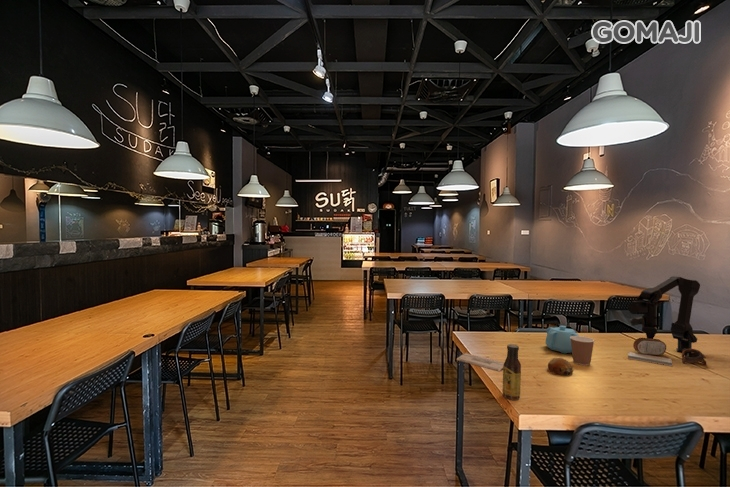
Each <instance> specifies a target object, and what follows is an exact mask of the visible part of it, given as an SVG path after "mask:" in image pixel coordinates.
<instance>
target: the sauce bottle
mask: <svg viewBox="0 0 730 487" xmlns="http://www.w3.org/2000/svg"><path fill="white" fill-rule="evenodd" d="M506 349H507V350H506V351H507V353H506V357H505V360H504V362H503V363H504V365H503V368H502V395H503V397H504V398H506V399H507V400H510V401H511V400H512V401H516V400H519V399H520V396H521V386H522V385H521V381H522V378H521V376H522V369H521V368H522V365H521V362H520V360H519V349H520V348H519V346H518V345H517V344H511V343H510V344H507V346H506Z"/></svg>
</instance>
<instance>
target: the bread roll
mask: <svg viewBox="0 0 730 487" xmlns="http://www.w3.org/2000/svg"><path fill="white" fill-rule="evenodd" d="M547 370H548V371H549V372H551V373H552V374H554V375H558V376H566V377H569V376H570V375H572V374H573V373H574V369H573V365H572V363H571V362H569V360H567V359H565V358H562V357H554V358H552V359H551V360H549V362H548V364H547Z"/></svg>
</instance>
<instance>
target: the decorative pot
mask: <svg viewBox="0 0 730 487" xmlns="http://www.w3.org/2000/svg"><path fill="white" fill-rule="evenodd" d="M571 336H580V335H579V334H578V333H577V332H576V331H575V330H574V329H572V328H567V326H566V325H559V327H555V326H554V327H552V326H550V327H547V328H546V337H545V342H544V343H545V345H546V347H547V348H549V349H550V350H551V351H557V352H560V353H561V354H563V355H567V353H568V354H569V353H570V354H571V353H572V347H571V339H570V337H571Z"/></svg>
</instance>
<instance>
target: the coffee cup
mask: <svg viewBox="0 0 730 487" xmlns="http://www.w3.org/2000/svg"><path fill="white" fill-rule="evenodd" d="M570 339H571V347H572V361H573V363H574V364H576V365H581V366H590V365H591V363H592V357H593V356H592V355H593V352H594V351H593V350H594V344H595V343H594V342H595V339H594V338H592V337H588V336H583V335H579V336H571V337H570Z"/></svg>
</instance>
